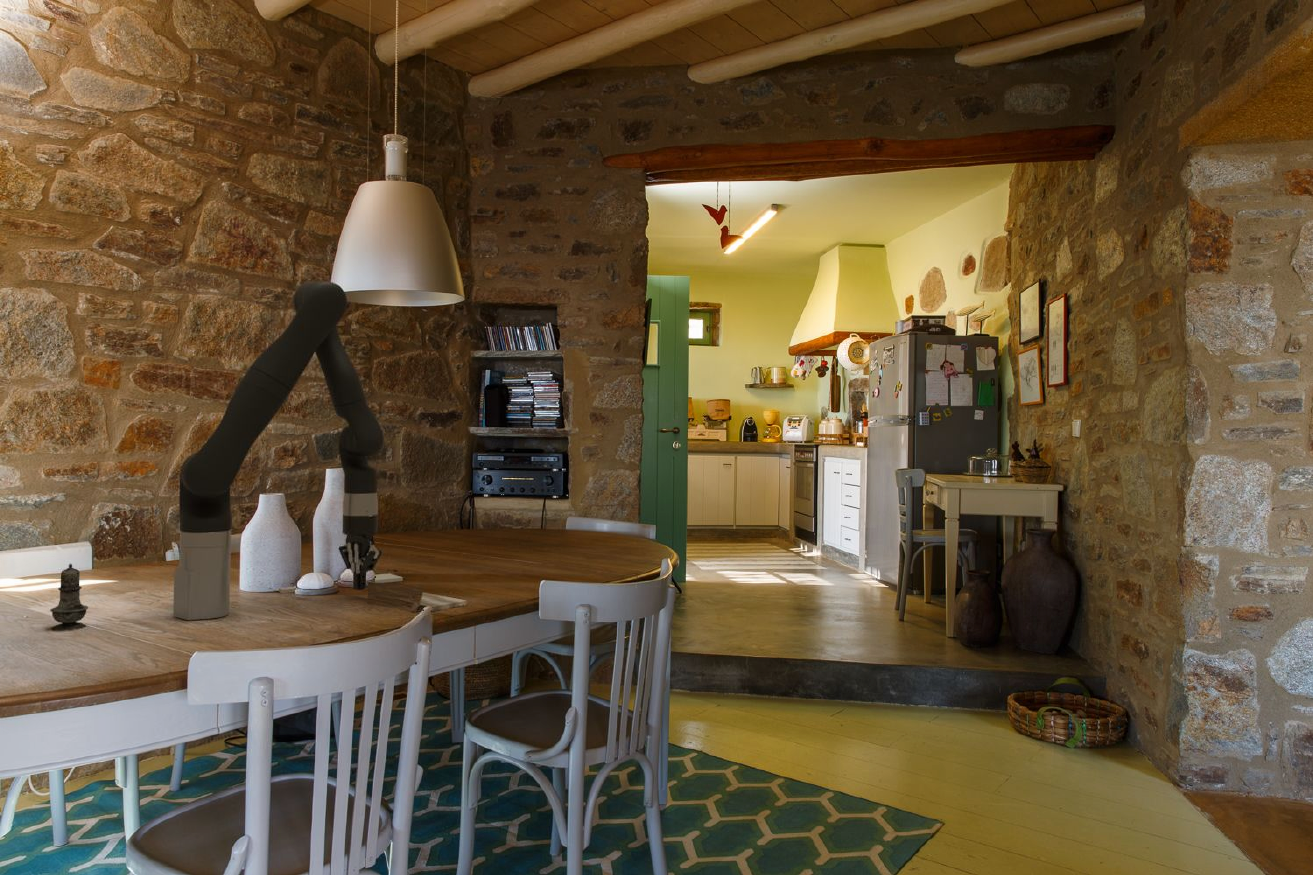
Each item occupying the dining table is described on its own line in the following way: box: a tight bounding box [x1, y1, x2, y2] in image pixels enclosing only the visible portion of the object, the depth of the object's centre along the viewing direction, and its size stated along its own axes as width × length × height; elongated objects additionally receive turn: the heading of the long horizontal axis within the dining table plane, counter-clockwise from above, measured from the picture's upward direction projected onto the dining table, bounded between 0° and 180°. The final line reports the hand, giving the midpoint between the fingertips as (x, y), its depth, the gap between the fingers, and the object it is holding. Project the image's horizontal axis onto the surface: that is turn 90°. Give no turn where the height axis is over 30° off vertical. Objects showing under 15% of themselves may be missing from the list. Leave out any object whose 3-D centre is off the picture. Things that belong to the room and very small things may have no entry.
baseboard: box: [278, 569, 404, 594], centre depth 212 cm, size 30×3×10 cm
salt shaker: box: [49, 563, 89, 632], centre depth 160 cm, size 6×6×12 cm
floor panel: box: [416, 591, 468, 612], centre depth 192 cm, size 10×20×1 cm, turn 56°
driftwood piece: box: [367, 582, 424, 613], centre depth 186 cm, size 15×2×5 cm, turn 63°
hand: (359, 589), depth 194 cm, fingers closed
